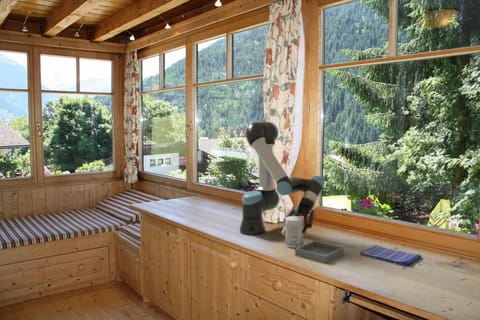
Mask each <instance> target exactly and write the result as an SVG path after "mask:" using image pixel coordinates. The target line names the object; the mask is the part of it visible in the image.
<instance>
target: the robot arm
mask: <svg viewBox="0 0 480 320" xmlns="http://www.w3.org/2000/svg"><path fill="white" fill-rule="evenodd" d="M278 137H279V129H278V127H277V126H276V124H275V123H273V122H271V121H259V122H257V121H254V122H251V123H250V124H249V125H248V126H247V128H246V130H245V138H246V141H247V142H248V145H249V146H250V147H251V148H252V149H254V150H255V152H256V154H257V156H258V182H259V183H258V187H257V188H256V190H252V191H247V192H245V193H243V195H242V198H241V203H242V205H241V206H242V209H241V210H242V219H241V222H240V227H239V232H240V234H243V235H248V236H254V235H255V236H257V235H262V234H264V233H265V232H266V226H265V223H264V221H263V212H265V211H271V210H273V209H275V208H277V207H278V205H279V203H280V196H288V195H292V194H295V193H298V192H303V195H302V198H301V199H300V201H299V204H298V206H296V207H295V205H294V206H292V207H291V209H290V210H289V212H288V213H287V215H286V216H285V217H284V218H283V222H284V224H283V226H282V228H283V229H282V231H281V234H282V235H283V236H285V219H286V217H290V216H298V217H303V222H304V226H302V228H301V230H300V232H299V234H298V238H299V239H301V238H302V236H303V233H304V234H306V232H307V230H308V229H312V228H313V227H312V226H313V221H314V217H315V216H316V212H315V210H314V209H313V208H314V206H315V204H316V203H317V200H318V198H319V196H320V193H321V192H322V190H323V188H324V185H325V180H324V178H322V177H321V176H319V175H313V176H312V177H311V179H307V178H303V177H295V176H294V177H289V176H288V174H287V173H286V171H285V170H284V168H283V167H282V164H280V162H279V160H278V158H277V157H276V156H275V154H274V153H273V148H274V146H275V145H276V140H277V138H278ZM274 182H275V183H276V187H275V186H274Z"/></svg>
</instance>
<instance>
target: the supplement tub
mask: <svg viewBox="0 0 480 320" xmlns="http://www.w3.org/2000/svg"><path fill="white" fill-rule="evenodd" d="M285 217H286V216H285ZM284 224H285V235H284V237H285V239H284V241H285V246H286V247H288V248H293V249H295V248H298V247H300V246H303V245H305V244H304V241H305V240H304V236H305V235H304V234H305V233H303V236H302V238H301V239H299V238H298V234H299V232H300V230H301V228H302V226H304V217H303V216H299V217H298V216H290V217H286V219H285V222H284Z"/></svg>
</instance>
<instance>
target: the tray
mask: <svg viewBox="0 0 480 320" xmlns="http://www.w3.org/2000/svg"><path fill="white" fill-rule="evenodd" d="M344 254H345V247H342V246H339V245H338V246H337V245H334V244H331V243H326V242H321V241H318V240H313V241H309V242H308V243H305V244H304V245H303V246H300V247H298V248H294V255H295V256H297V257H301V258H304V259H308V260H311V261H315V262H319V263H322V264H327V263H329V262H331V261H333V260H335V259H337V258H340V257H341V256H343V255H344Z"/></svg>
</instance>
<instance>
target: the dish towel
mask: <svg viewBox="0 0 480 320" xmlns="http://www.w3.org/2000/svg"><path fill="white" fill-rule="evenodd" d="M359 253H360V254H359V255H361V256H364V257H367V258H369V259H370V258H371V259H373V260H378V261H381V262H385V263H389V264H394V265H397V266H401V267H404V268H405V267H408V266H410V265H411V264H412V263H414V262H416V261H418V260H420V259H421V258H422V255H421V254H416V253H410V252H406V251H401V250H396V249H391V248H387V247H383V246H380V245H376V244H375V245H373V246H371V247H369V248H368V249H366V250H363V251H362V250H361V251H359Z"/></svg>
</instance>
